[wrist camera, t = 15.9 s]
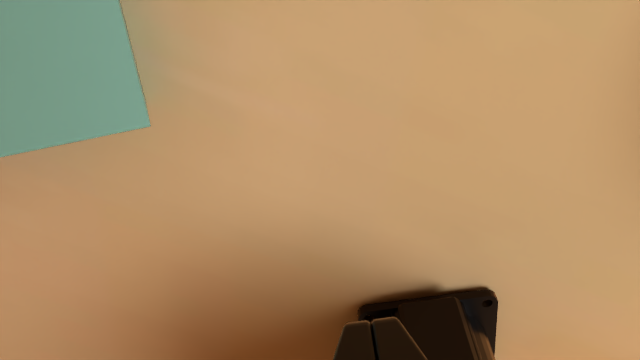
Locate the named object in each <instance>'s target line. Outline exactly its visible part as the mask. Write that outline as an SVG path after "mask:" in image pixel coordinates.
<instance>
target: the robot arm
mask: <svg viewBox="0 0 640 360" xmlns="http://www.w3.org/2000/svg"><path fill="white" fill-rule="evenodd" d="M485 300H486V301H485ZM497 309H498V300H497V297H496V295H495V293H494V292H493V291H491V290H479V291H471V292H464V293H456V294H448V295H441V296H433V297H425V298H417V299H410V300H402V301H394V302H387V303H379V304H371V305H365V306H362V307H361V308H359V310H358V312H357V315H358V321H356V322H349V323H346V324H345V325H344V327H343V329H342V332H341V335H340V338H339V341H338V345H337V348H336V351H335V354H334V357H333V360H495V357H494V353H495V338H496V323H497ZM367 315H369V316H367Z"/></svg>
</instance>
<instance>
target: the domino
mask: <svg viewBox="0 0 640 360" xmlns="http://www.w3.org/2000/svg"><path fill="white" fill-rule="evenodd" d="M150 126H151V125H150V120H149V115H148V110H147V105H146V101H145V97H144V94H143V90H142V86H141V82H140V78H139V74H138V70H137V66H136V62H135V58H134V55H133V51H132V47H131V43H130V39H129V35H128V31H127V27H126V23H125V19H124V16H123V12H122V8H121V4H120V0H0V157H4V156H9V155H14V154H19V153H24V152H28V151H33V150H38V149H43V148H48V147H53V146H58V145H62V144H67V143H72V142H77V141H82V140H87V139H92V138H96V137H101V136H106V135H111V134H116V133H121V132H126V131H130V130H135V129H140V128H145V127H150Z"/></svg>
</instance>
